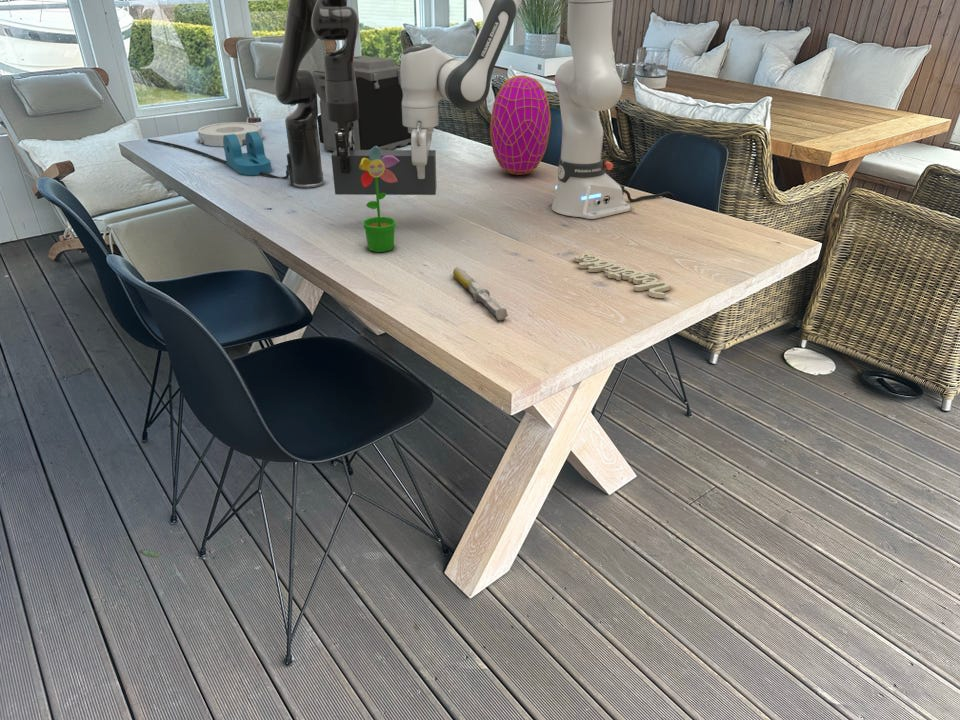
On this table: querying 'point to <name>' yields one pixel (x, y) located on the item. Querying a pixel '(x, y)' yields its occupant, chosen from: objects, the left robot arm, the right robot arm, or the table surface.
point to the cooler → (369, 106)
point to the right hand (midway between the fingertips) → (422, 174)
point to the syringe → (479, 293)
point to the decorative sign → (625, 274)
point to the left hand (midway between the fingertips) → (348, 168)
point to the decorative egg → (520, 125)
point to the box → (401, 170)
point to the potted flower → (378, 227)
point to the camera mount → (246, 154)
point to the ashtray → (226, 132)
